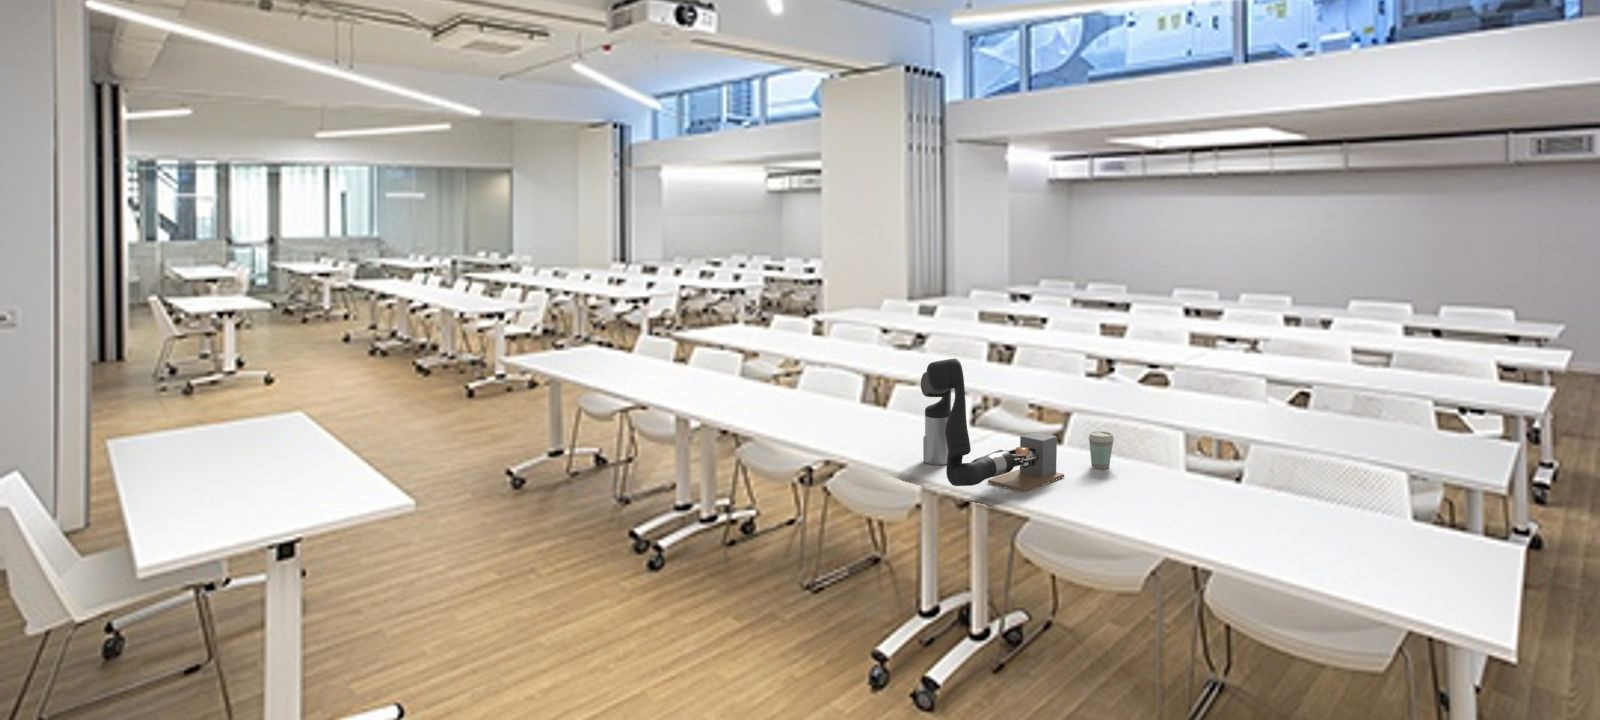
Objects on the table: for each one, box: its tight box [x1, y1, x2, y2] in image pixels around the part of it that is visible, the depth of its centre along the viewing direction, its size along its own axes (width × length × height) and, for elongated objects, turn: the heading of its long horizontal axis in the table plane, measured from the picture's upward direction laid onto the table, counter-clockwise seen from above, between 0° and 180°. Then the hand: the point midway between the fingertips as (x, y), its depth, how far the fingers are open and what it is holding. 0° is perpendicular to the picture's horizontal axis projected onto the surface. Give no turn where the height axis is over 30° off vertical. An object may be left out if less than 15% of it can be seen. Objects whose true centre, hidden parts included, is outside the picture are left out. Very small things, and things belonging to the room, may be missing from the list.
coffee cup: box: [1088, 430, 1115, 470], centre depth 316 cm, size 8×9×12 cm
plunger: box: [1015, 446, 1035, 461], centre depth 304 cm, size 14×4×5 cm, turn 130°
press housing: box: [987, 431, 1065, 493], centre depth 302 cm, size 23×14×14 cm, turn 130°
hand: (1026, 454), depth 302 cm, fingers open, 8 cm apart
